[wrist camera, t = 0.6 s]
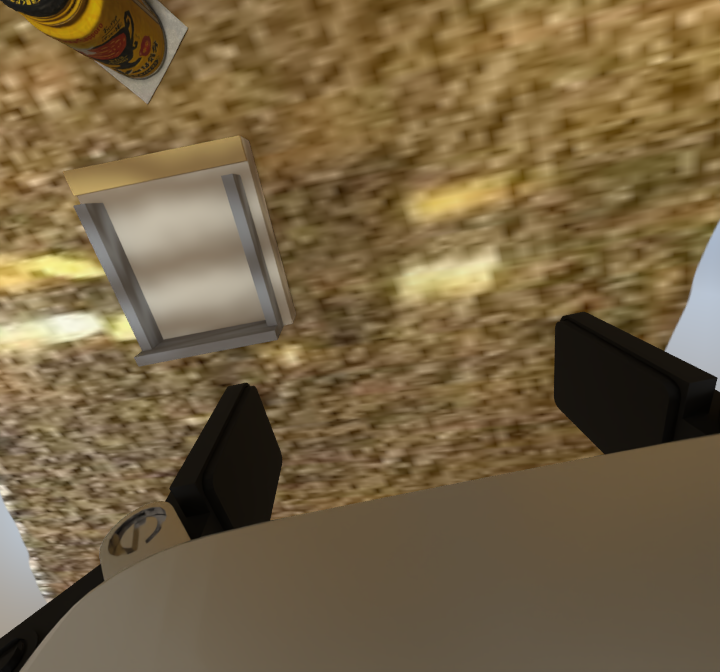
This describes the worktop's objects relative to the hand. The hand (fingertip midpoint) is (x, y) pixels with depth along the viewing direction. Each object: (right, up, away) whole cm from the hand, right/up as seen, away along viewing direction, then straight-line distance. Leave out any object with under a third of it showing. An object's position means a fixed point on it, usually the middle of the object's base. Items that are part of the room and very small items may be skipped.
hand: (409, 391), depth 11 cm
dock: (-18, +11, +26) cm, 34 cm away
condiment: (-22, +28, +19) cm, 41 cm away
